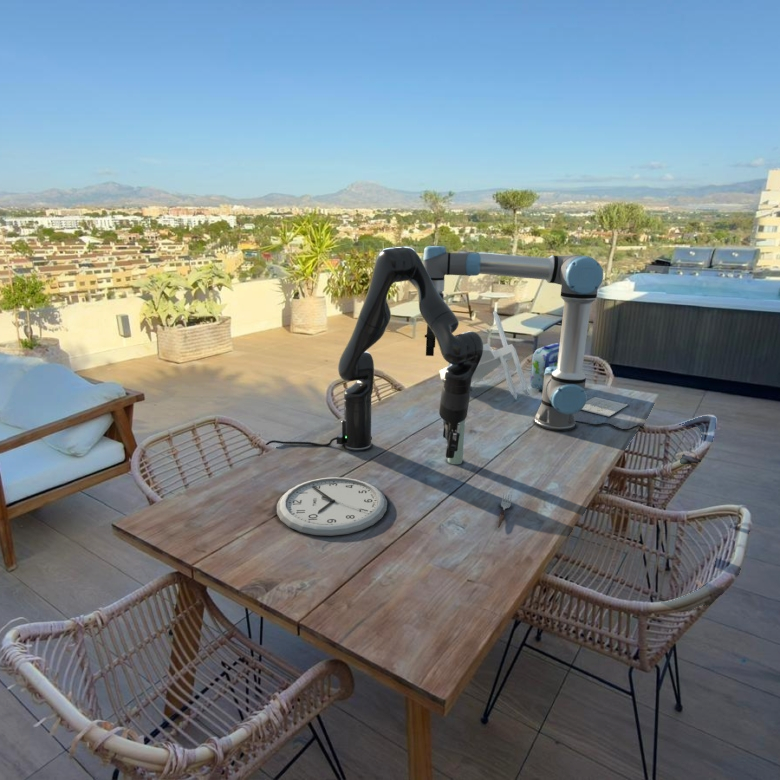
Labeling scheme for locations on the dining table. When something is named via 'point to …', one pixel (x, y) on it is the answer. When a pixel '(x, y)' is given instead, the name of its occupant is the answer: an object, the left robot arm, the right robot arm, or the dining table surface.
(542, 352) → the lunch box
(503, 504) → the fork
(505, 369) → the white plastic object
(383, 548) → the dining table surface
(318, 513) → the wall clock
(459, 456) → the bottle
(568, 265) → the right robot arm
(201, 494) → the dining table surface
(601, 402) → the invitation card
